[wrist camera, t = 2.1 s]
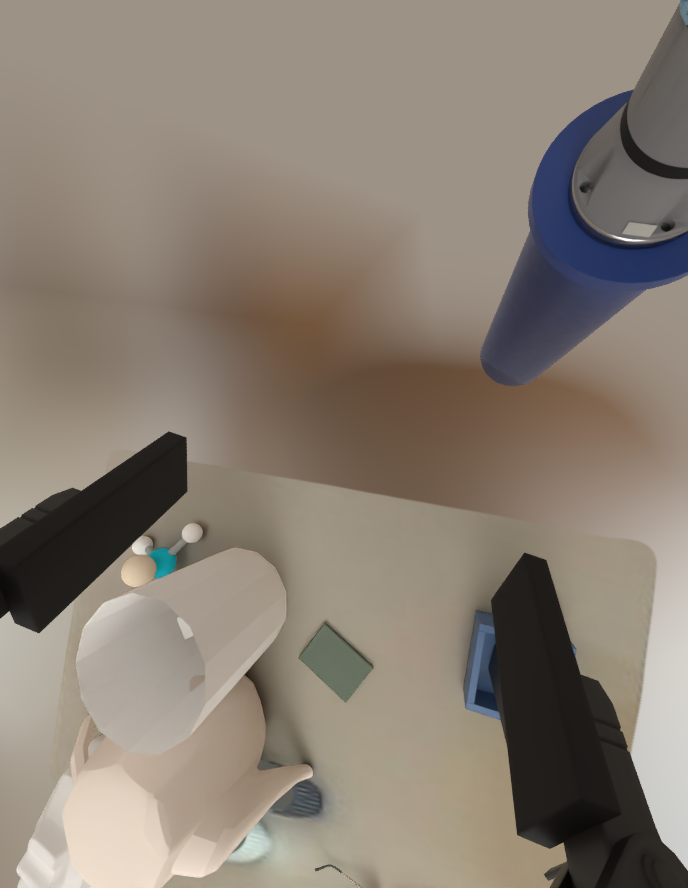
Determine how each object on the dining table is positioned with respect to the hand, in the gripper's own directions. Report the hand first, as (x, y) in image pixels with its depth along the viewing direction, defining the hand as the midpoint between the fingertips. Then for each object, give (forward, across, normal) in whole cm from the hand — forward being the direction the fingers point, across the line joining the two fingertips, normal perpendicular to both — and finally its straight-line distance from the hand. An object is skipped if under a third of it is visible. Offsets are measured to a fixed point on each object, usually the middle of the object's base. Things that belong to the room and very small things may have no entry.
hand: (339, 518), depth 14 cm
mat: (+16, +4, -39) cm, 42 cm away
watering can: (-5, -11, -42) cm, 43 cm away
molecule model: (+22, -23, -37) cm, 49 cm away
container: (+19, -12, -38) cm, 44 cm away
